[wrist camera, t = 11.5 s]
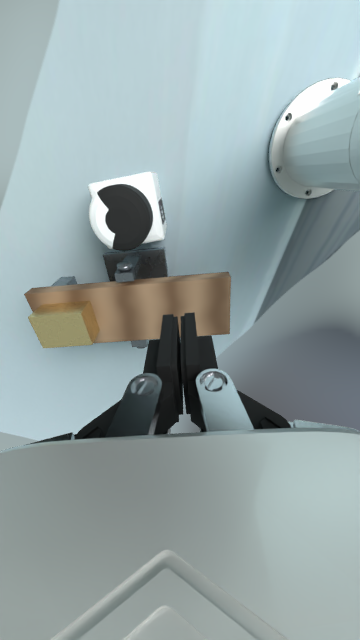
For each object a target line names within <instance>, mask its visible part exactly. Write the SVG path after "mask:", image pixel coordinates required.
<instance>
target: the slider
mask: <svg viewBox="0 0 360 640" xmlns="http://www.w3.org/2000/svg"><path fill="white" fill-rule="evenodd" d="M28 319H29V321H30V323H31V325H32V327H33V329H34V331H35V333H36V335H37V337H38V339H39V341H40V343H41V345H42V347H43V348H54V347H68V346H82V345H93V343H94V341H95V339H96V337H97V335H98V333H99V331H100V329H99V326H98V323H97V320H96V317H95V314H94V311H93V308H92V305H91V302H90V301H79V302H67V303H55V304H43V305H41V306H40V307H38V308H37V309H36V310H35V311H34V312H33V313H32V314H31V315H30V316H29V317H28Z"/></svg>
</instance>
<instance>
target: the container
mask: <svg viewBox="0 0 360 640" xmlns="http://www.w3.org/2000/svg"><path fill="white" fill-rule="evenodd" d="M88 188H89V191H90V194H91V197H92V201H91V203H90V207H89V220H90V224H91V227H92V229H93V231H94V233H95V235H96V236H97V237H98V238H99V239H100V240H101V241H102V242H103V243H104V244H105V245H107V247H108V248H109V249H116V250H122V251H126V250H131V249H134V248H136V247H138V246H140V245H141V244H143V243H149V242H154V241H160V240H163V239H164V238H165V234H166V229H167V224H166V218H165V213H164V208H163V203H162V197H161V192H160V187H159V181H158V176H157V173H156V172H145V173H140V174H135V175H130V176H125V177H120V178H115V179H110V180H105V181H100V182H95V183H91V184H89V186H88Z"/></svg>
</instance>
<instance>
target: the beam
mask: <svg viewBox="0 0 360 640" xmlns="http://www.w3.org/2000/svg"><path fill="white" fill-rule="evenodd" d="M230 288H231V277H230V275H229V272H221V273H209V274H197V275H185V276H173V277H161V278H149V279H137V280H134V281H128V282H116V281H113V282H101V283H89V284H77V285H64V286H52V287H40V288H32V289H30V290H29V291H28V292H27V293H25V294H24V295H25V297H26V299H27V301H28V303H29V305H30V307H31V309H32V311H33V312H34V311H35V310H36V309H37V308H38V307H40V306H41V305H43V304H55V303H67V302H79V301H90V302H91V305H92V308H93V311H94V314H95V317H96V320H97V323H98V326H99V329H100V331H99V333H98V335H97V337H96V339H95V341H94V343H104V342H118V341H133V340H148V339H160V334H161V326H162V317H163V315H167V314H173V315H174V317H176V316H177V317H178V325H179V334H180V337H181V316H184V313H193V312H195V321H196V330H197V336H206V335H221V334H230Z"/></svg>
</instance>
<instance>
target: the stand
mask: <svg viewBox="0 0 360 640" xmlns="http://www.w3.org/2000/svg"><path fill="white" fill-rule="evenodd" d="M103 257H104V261H105V265H106V268H107V272H108V276H109V280H110V282H113V281H116V282H128V281H134V280H137V279H149V278H161V277H168V271H167V263H166V255H165V247H164V248H153V249H143V250H132V251H121V252H111V253H104V254H103ZM64 285H77V282H76V280H75V277H74V276H72V277H61V278H60V279H59V280H58V281H56V282H55V283H54V284H53V285H52V286H64ZM52 286H51V287H52ZM148 340H149V339H148ZM148 340H133V341H131V343H132V347H137V348H145V347H146V346H147V345H148Z"/></svg>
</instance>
